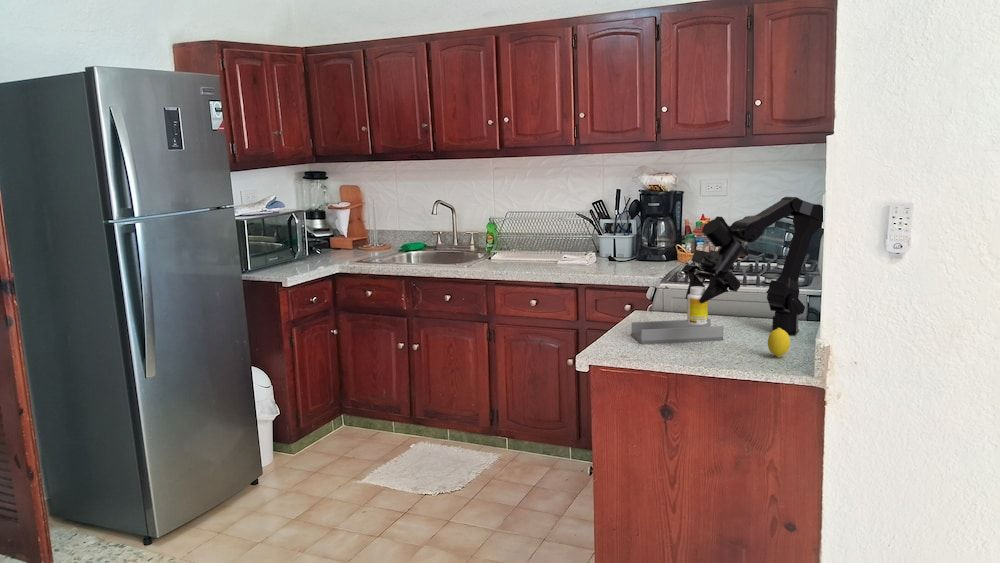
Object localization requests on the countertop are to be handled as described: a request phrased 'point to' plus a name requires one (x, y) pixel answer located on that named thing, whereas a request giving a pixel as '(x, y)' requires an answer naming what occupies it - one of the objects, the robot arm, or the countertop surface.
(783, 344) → the lemon
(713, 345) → the countertop surface
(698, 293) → the supplement bottle
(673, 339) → the cable duct
